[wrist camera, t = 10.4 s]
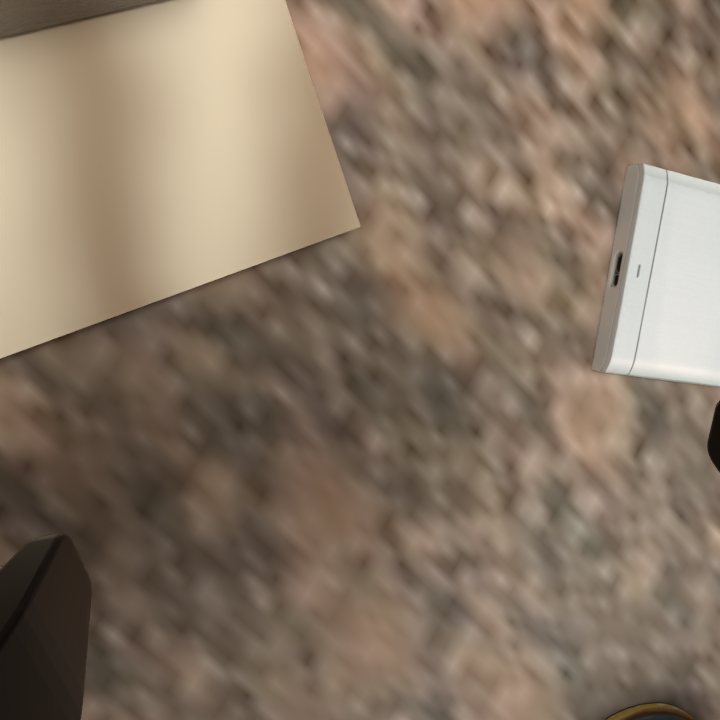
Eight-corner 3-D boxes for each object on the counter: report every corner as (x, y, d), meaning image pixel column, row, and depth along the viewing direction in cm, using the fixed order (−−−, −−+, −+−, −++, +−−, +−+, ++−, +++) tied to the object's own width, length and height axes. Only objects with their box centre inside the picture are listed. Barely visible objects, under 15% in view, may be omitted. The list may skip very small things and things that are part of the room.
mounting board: (-67, 380, 17) (-82, 388, 16) (-376, -188, 13) (-423, -230, 12) (348, 229, 20) (360, 226, 19) (184, -255, 17) (187, -292, 16)
